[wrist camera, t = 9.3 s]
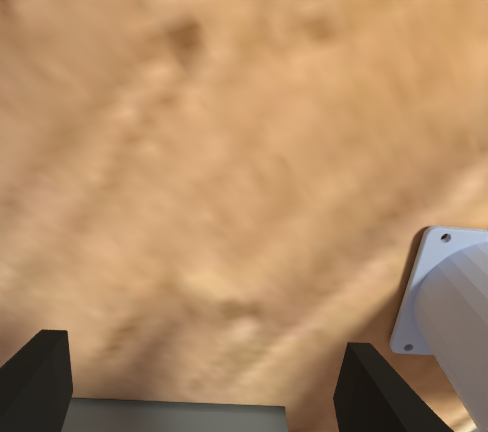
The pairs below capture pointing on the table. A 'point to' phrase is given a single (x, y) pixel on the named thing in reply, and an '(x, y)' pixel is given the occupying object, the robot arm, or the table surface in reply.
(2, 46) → the table surface
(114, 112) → the table surface
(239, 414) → the bin
